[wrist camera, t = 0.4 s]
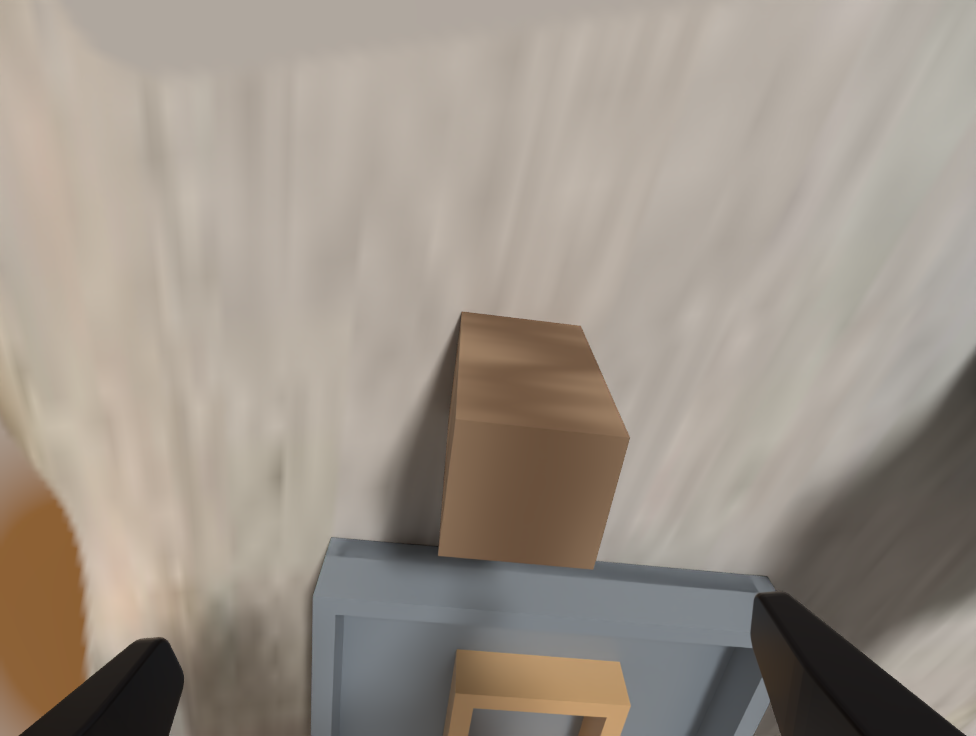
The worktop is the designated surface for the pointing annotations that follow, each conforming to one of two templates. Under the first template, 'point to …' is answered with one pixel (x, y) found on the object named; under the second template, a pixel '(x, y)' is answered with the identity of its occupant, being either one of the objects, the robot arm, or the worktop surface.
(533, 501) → the brown rectangular block
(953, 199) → the worktop surface
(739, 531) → the worktop surface
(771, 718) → the worktop surface
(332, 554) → the box
